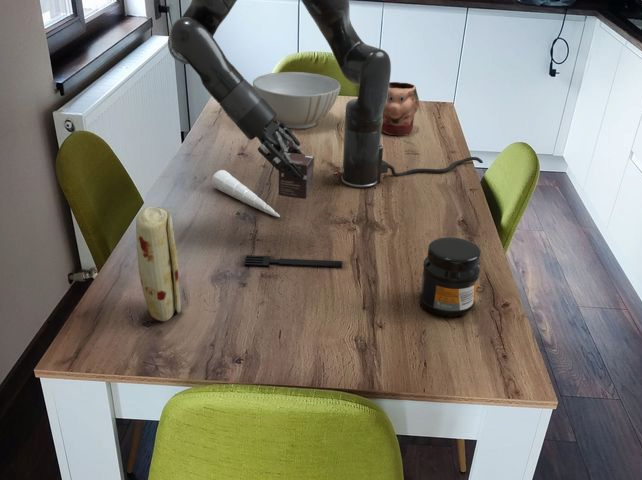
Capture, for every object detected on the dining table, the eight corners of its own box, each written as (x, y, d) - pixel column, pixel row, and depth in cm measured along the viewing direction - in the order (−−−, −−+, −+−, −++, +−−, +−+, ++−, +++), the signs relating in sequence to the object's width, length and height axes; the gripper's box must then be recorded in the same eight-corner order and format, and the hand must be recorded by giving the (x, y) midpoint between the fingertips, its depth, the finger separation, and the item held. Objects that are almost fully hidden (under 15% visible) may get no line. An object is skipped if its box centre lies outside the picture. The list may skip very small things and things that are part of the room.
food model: (148, 299, 132) (136, 199, 120) (184, 299, 132) (175, 199, 121) (141, 328, 124) (127, 223, 112) (180, 327, 124) (170, 224, 113)
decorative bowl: (338, 138, 211) (340, 97, 204) (249, 134, 211) (248, 92, 204) (339, 112, 233) (340, 74, 226) (258, 108, 233) (257, 69, 226)
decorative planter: (378, 118, 229) (382, 74, 221) (416, 121, 228) (421, 77, 220) (375, 138, 213) (378, 91, 205) (415, 141, 212) (420, 94, 204)
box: (277, 195, 145) (277, 161, 141) (285, 185, 150) (286, 151, 146) (306, 199, 144) (307, 165, 140) (313, 189, 149) (314, 155, 145)
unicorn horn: (266, 223, 161) (266, 203, 158) (211, 189, 175) (210, 171, 173) (283, 218, 163) (283, 198, 161) (227, 185, 178) (226, 167, 175)
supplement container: (473, 322, 130) (483, 265, 123) (416, 315, 131) (423, 258, 124) (473, 294, 139) (484, 239, 132) (420, 287, 140) (427, 232, 133)
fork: (341, 261, 148) (342, 259, 147) (341, 270, 144) (342, 268, 144) (246, 257, 147) (246, 255, 147) (244, 266, 144) (244, 264, 144)
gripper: (250, 107, 132) (310, 175, 137) (270, 87, 143) (324, 151, 149) (224, 132, 135) (283, 197, 141) (245, 111, 147) (299, 172, 152)
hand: (304, 173), depth 145 cm, fingers closed on box, 6 cm apart
